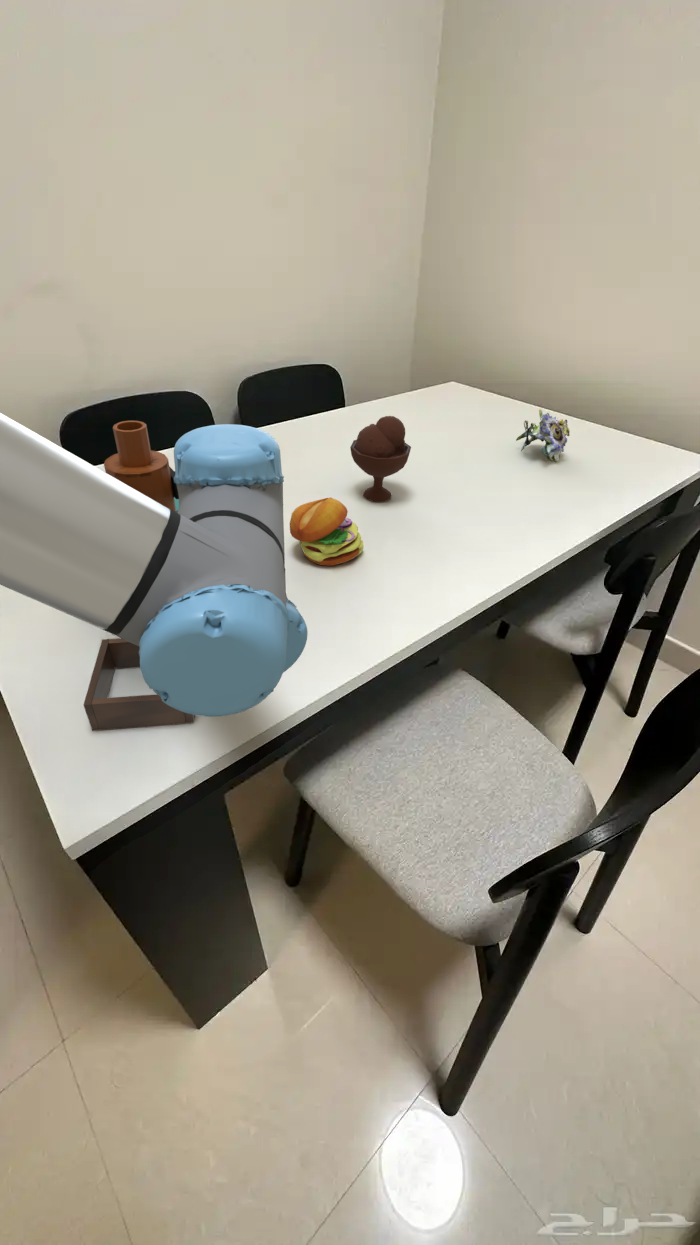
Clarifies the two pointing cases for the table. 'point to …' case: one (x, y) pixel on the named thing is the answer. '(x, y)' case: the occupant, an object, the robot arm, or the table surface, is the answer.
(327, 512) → the cheeseburger
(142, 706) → the tray
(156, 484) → the bottle
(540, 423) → the passion flower
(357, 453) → the ice cream bowl
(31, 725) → the table surface
